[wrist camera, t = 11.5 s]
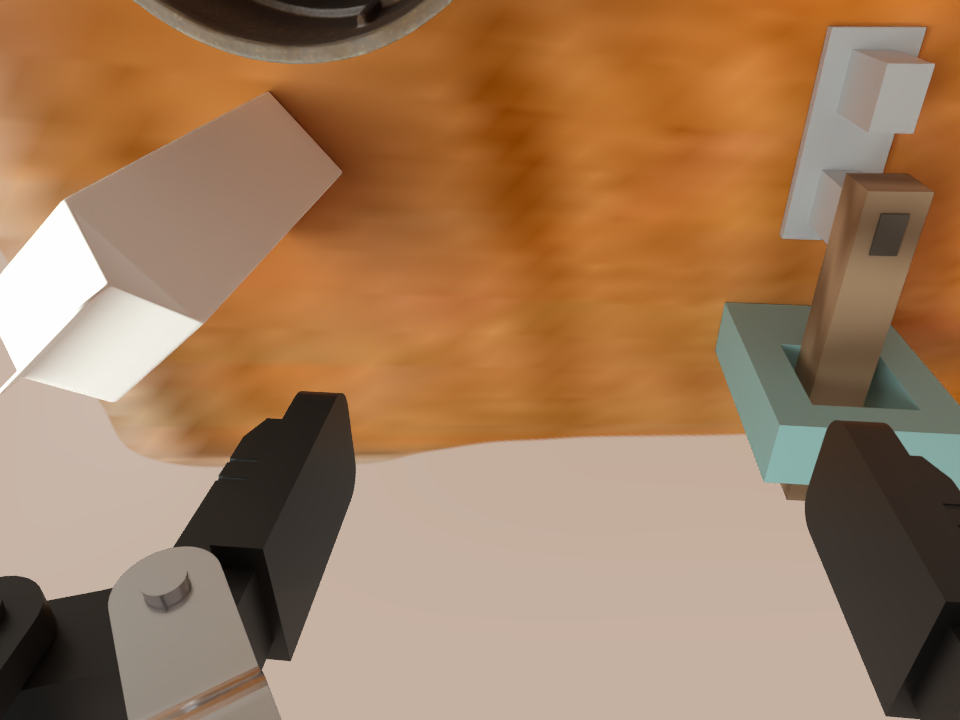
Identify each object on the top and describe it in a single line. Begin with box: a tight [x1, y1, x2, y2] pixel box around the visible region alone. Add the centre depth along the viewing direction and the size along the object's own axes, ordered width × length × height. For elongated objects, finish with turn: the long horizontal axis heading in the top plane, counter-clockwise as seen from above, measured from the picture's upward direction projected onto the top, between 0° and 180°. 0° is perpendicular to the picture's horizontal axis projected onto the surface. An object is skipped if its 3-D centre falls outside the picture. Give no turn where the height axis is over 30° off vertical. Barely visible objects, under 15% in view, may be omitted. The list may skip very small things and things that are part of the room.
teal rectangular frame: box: [715, 302, 960, 490], centre depth 38 cm, size 4×9×13 cm, turn 90°
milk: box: [0, 92, 342, 402], centre depth 32 cm, size 6×6×22 cm
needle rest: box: [780, 26, 935, 244], centre depth 35 cm, size 11×4×5 cm, turn 0°
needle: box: [780, 173, 935, 501], centre depth 37 cm, size 19×3×3 cm, turn 0°
